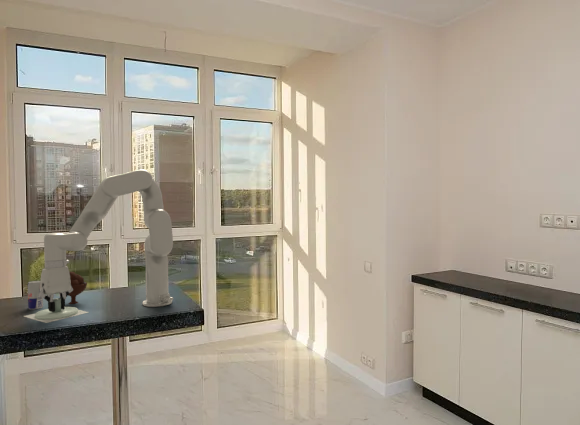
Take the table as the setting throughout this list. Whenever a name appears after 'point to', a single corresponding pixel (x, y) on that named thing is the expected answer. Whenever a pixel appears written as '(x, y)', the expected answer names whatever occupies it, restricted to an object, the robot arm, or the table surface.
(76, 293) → the ice cream bowl
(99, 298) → the table surface
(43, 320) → the mat
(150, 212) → the robot arm
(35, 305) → the energy drink
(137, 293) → the table surface
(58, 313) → the lid
